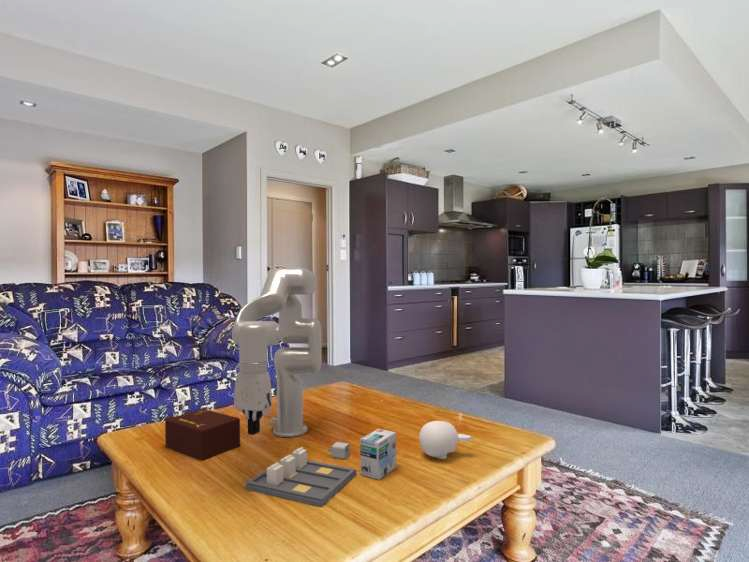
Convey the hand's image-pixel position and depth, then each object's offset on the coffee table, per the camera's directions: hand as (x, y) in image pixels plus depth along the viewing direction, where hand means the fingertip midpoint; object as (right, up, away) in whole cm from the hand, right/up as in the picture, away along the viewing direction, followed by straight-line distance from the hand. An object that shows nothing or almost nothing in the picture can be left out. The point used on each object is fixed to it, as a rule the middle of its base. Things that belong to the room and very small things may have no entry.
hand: (253, 433), depth 126 cm
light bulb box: (+35, -14, +8) cm, 39 cm away
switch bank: (+14, -14, +1) cm, 20 cm away
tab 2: (+9, -13, +3) cm, 16 cm away
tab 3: (+11, -13, +9) cm, 19 cm away
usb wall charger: (+22, -14, +19) cm, 32 cm away
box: (-25, -15, +29) cm, 41 cm away
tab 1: (+6, -13, -2) cm, 15 cm away
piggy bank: (+57, -14, +19) cm, 61 cm away
